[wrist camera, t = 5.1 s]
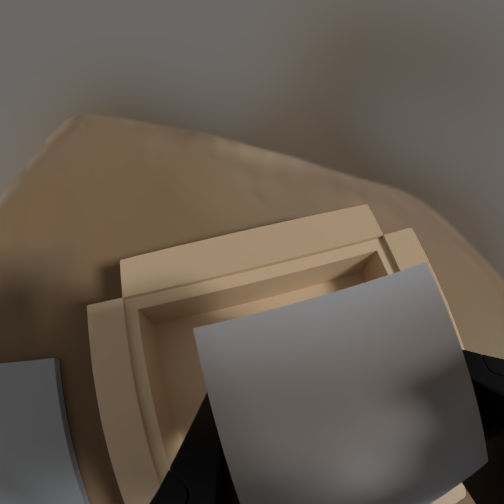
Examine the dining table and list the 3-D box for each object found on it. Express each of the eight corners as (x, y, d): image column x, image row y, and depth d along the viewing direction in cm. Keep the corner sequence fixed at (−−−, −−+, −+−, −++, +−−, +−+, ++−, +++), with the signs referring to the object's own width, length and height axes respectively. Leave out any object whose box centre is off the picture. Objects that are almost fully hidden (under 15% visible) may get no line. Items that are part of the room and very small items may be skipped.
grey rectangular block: (353, 434, 12) (488, 461, 3) (257, 465, 12) (264, 567, 3) (326, 347, 15) (426, 262, 6) (231, 374, 14) (192, 328, 5)
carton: (457, 469, 11) (492, 474, 8) (179, 560, 9) (163, 588, 6) (376, 230, 19) (395, 198, 16) (112, 293, 17) (86, 268, 14)
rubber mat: (115, 560, 8) (111, 564, 8) (-17, 520, 7) (-22, 520, 6) (59, 359, 15) (54, 357, 14) (-49, 367, 13) (-54, 366, 12)
